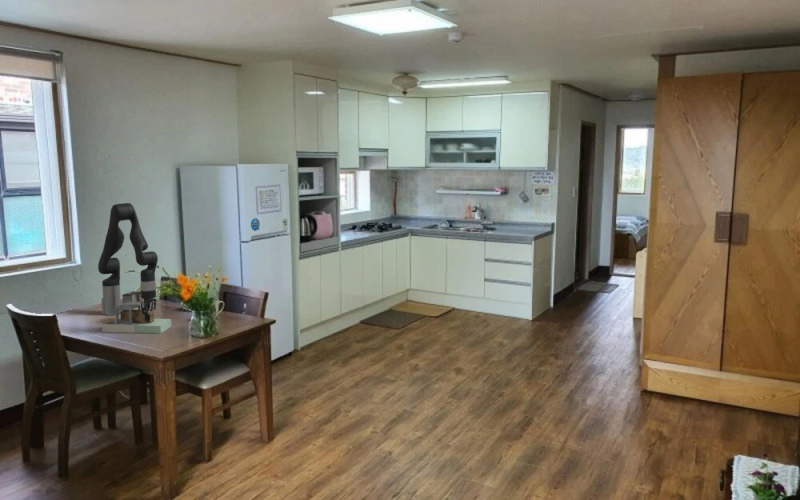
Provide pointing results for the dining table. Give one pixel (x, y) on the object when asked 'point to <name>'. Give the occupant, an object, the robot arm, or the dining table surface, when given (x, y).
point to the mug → (218, 306)
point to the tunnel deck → (132, 327)
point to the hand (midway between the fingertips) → (149, 319)
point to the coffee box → (132, 298)
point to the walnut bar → (137, 316)
